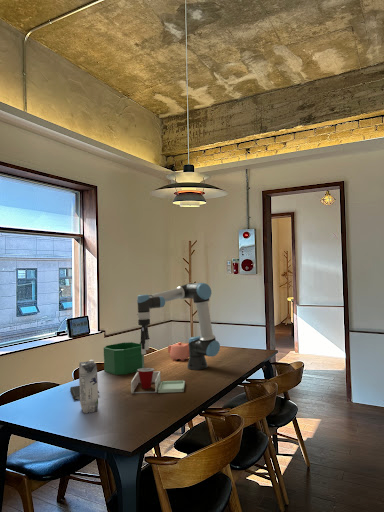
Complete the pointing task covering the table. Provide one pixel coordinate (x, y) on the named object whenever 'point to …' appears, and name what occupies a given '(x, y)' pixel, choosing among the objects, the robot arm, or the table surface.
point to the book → (76, 392)
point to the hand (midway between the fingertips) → (145, 351)
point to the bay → (155, 378)
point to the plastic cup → (146, 377)
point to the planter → (123, 358)
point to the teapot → (179, 351)
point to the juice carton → (88, 386)
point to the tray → (171, 386)
